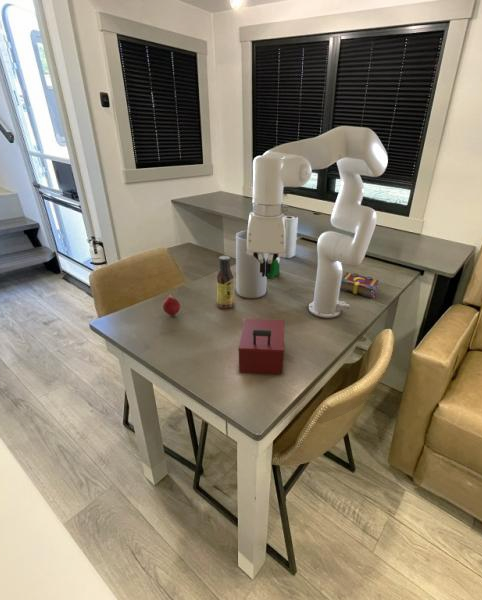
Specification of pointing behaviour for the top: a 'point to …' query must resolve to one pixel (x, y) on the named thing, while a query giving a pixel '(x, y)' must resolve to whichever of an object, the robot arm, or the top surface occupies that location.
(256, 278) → the cylinder vase
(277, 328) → the lid
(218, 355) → the top surface
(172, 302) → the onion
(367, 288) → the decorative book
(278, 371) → the red bin
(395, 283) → the top surface
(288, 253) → the paper towel roll
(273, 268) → the milk carton
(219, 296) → the sauce bottle
